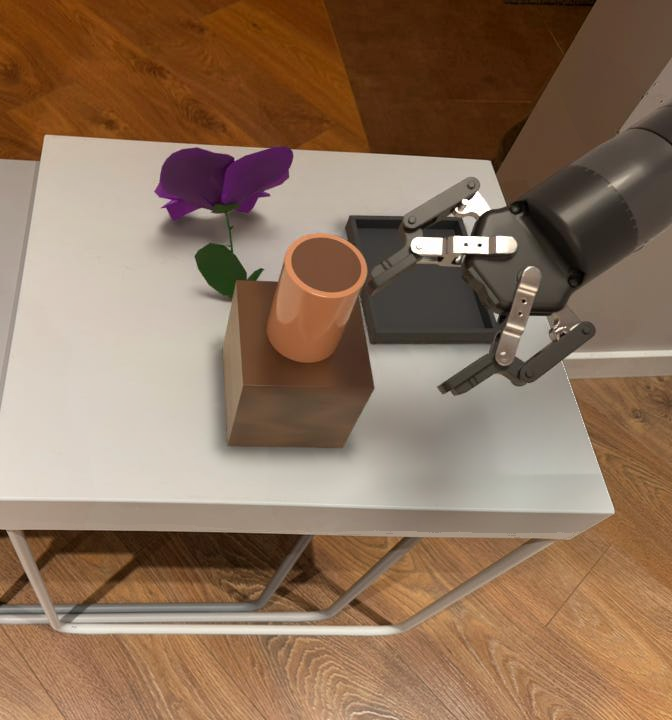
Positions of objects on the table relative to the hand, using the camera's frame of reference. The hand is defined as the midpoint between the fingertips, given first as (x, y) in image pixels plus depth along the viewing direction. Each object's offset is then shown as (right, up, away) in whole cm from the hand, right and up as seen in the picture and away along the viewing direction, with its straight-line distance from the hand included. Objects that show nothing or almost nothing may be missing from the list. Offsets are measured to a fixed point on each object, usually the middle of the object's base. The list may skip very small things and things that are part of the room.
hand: (404, 339), depth 54 cm
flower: (-11, +10, +31) cm, 35 cm away
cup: (-5, +1, +13) cm, 14 cm away
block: (-6, -5, +22) cm, 23 cm away
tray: (+10, +7, +31) cm, 33 cm away
